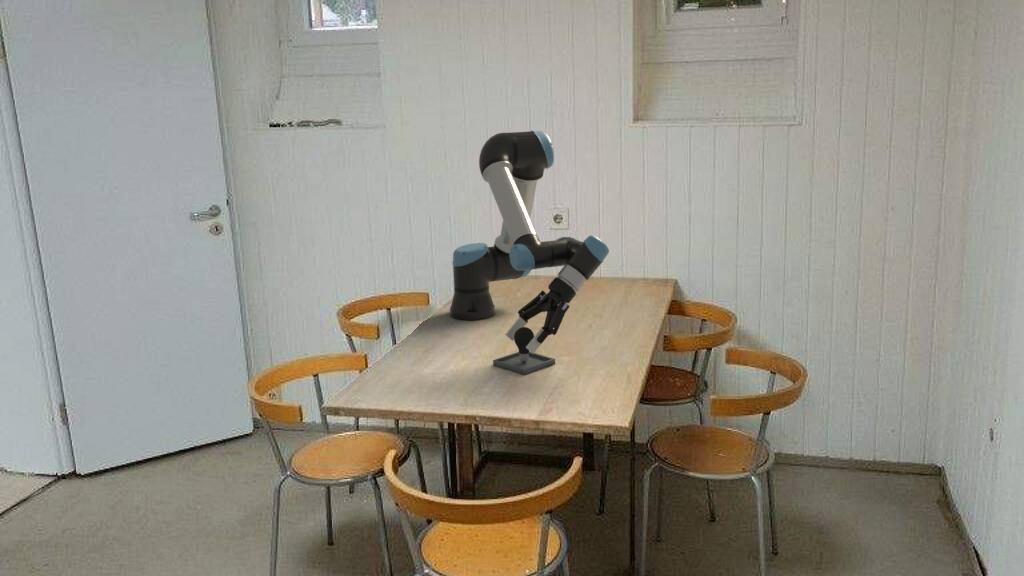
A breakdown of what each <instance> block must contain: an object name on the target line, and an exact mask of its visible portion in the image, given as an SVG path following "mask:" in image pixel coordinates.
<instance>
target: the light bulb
mask: <svg viewBox="0 0 1024 576" xmlns="http://www.w3.org/2000/svg"><path fill="white" fill-rule="evenodd" d="M534 336H535V334H534V332H533V330H532V329H531V328H529V327H526V326H524V327H521V328H519V329H518V330H517V331H516V332H515V334H514V340H513V341H514V343H515V345H516V347H517V348H518V352H519V354H520V360H521V361H522V362H523V363H525V362H526V361H527V360H528V357H529V355H528V354H529V352H530V351H529V350H528V349H527V348H526V346H527V345H528V344H529V343H530V341H531V340H532V339H533V338H534Z"/></svg>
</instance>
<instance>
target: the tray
mask: <svg viewBox="0 0 1024 576" xmlns="http://www.w3.org/2000/svg"><path fill="white" fill-rule="evenodd" d="M528 355H529V357H528V360H527V361H526V362H525V363H523V362H522V361H521V360H520V354H519V351H516V352H514V353H511V354H508V355H504V356H502V357H499V358H495V359H493V360H492V366H493V367H494V366H495V367H498V368H501V369H504V370H507V371H511V372H513V373H517V374H520V375H523V376H526V375H527V374H528V375H529V374H531V373H534V372H536V371H539V370H543V369H546V368H548V367H551V366H554V365H556V358H553V357H550V356H545V355H543V354H538V353H536V352H534V354H533V353H531V352H530V351H529V354H528ZM553 364H554V365H553Z"/></svg>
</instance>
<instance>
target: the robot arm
mask: <svg viewBox="0 0 1024 576" xmlns="http://www.w3.org/2000/svg"><path fill="white" fill-rule="evenodd" d="M554 160H555V153H554V147H553V143H552V141H551V138H550V137H549V135H548V134H547V133H546V132H544V131H541V130H538V131H537V130H536V131H535V130H530V131H514V132H513V131H512V132H499V133H496V134H494V135H492V136H491V137H490V138H488V139H487V140H486V141H485V142H484V144H483V146H482V148H481V149H480V154H479V158H478V167H479V170H480V171H479V172H480V174H481V177H482V179H483V181H484V182H486V183H488V185H489V188H490V190H491V193H492V194H493V198H494V200H495V203H496V205H497V208H498V210H499V212H500V215H501V218H502V224H501V225H502V226H501V231H500V235H498V236H497V237H495V239H494V245H493V246H488V244H486V243H485V242H476V243H467V244H463V245H461V246H459V247H457V248H456V249H454V251H453V253H452V255H453V256H452V258H453V259H452V267H453V271H452V272H453V287H454V288H453V289H454V290H453V297H452V300H451V305H450V306H449V316H450V317H451V318H453V319H455V320H456V319H457V320H462V321H463V320H466V321H474V320H475V321H477V320H484V319H489V318H491V317H494V316H495V315H496V308H495V307H496V306H495V304H494V301H493V298H492V296H491V293H490V283H492V282H498V281H499V282H500V281H508V280H517V279H520V278H525V277H527V276H528V275H529V274H531V272H532V271H533V270H539V269H544V268H545V269H546V268H547V269H548V268H557V267H562V268H561V269H560V271H559V272H558V273H557V274H556V275H557V277H554V278H553V279H552V281H551V282H550V283H549V284H548V289H549V292H548V293H546V292H545V291H544V290H541V291H540V292H539V293H538V294H537V296H535V297H534V298H533V299H531V300H530V301H528V302H527V303H526V305H523V307H522V308H520V309H519V310H518V311H517V314H518V318H517V319H516V321H515V322H514V323H513V324H512V325H511V327H510V328H509V329H508V331H507V332H506V333H505V334H504V335H505V336H506V337H508V339H510V340H511V341H514V334H515V332H516V331H517V330H518V329H519V328H521V327H526V325H527V324H528V323H529V320H531V319H532V318H534V317H535V316H537V315H539V314H540V313H544V312H546V315H545V316H546V317H545V320H544V324H543V326H541V327H540V329H539V330H538V332H536V334H534V338H533V339H532V340H531V341H530V343H529V344H528V345H527V346H526V348H527V349H528V350H529V352H531V353H533V354H534V353H536V351H537V350H538V349H539V347H540V346H541V345H542V344H543V343H544V342H545V340H547V338H548V337H549V336H551V335H553V336H555V335H556V334H557V333H558V330H559V329H560V326H561V323H562V321H563V319H564V317H565V315H566V312H567V311H568V309H569V308H570V305H569V304H570V303H571V301H573V299H574V298H575V297H576V295H577V292H579V291H580V290H581V289H582V288H583V287H584V286H585V284H586V283H587V281H588V280H589V279H590V278H591V277H592V275H593V274H594V273H595V271H596V270H597V269H598V268H599V267H600V265H602V263H603V262H604V260H605V259H606V257H607V256H608V254H609V253H610V249H609V247H608V246H607V245H606V243H605V242H604V241H602V240H601V239H600V238H599V237H597V236H595V235H589V236H587V238H585V239H584V240H583V241H581V240H579V239H576V238H573V237H571V236H560V237H559V238H557V239H555V240H547V241H540V239H539V236H538V234H537V231H536V229H535V227H534V224H533V221H532V220H531V214H532V210H533V205H534V198H535V194H536V188H537V183H538V181H539V180H541V179H543V177H544V171H545V169H546V170H547V169H549V168H551V167H552V166H553V165H554Z"/></svg>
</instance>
